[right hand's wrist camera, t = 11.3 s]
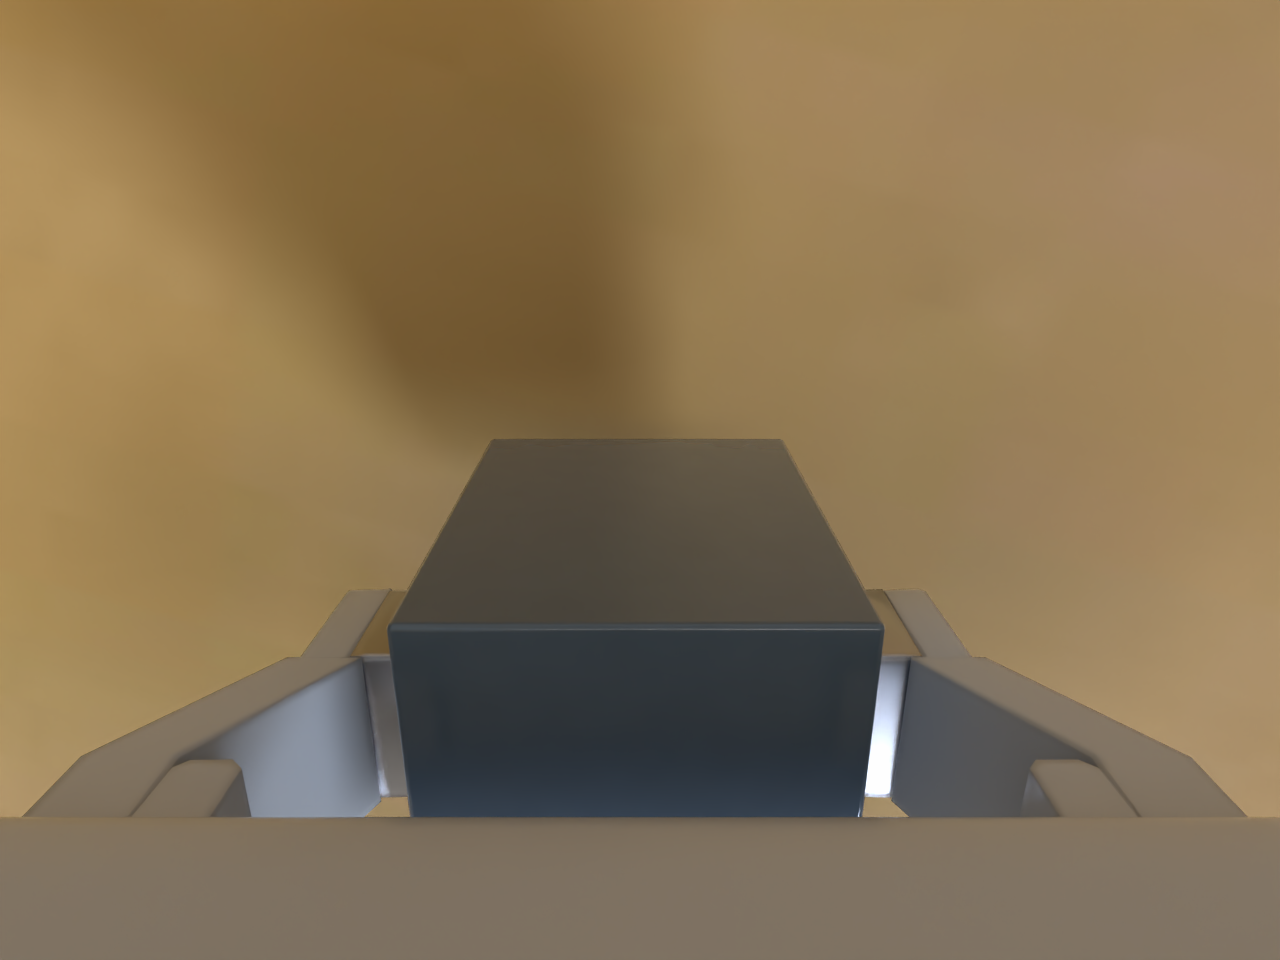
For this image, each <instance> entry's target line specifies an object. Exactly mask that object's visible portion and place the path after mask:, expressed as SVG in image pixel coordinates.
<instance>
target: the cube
mask: <svg viewBox="0 0 1280 960" xmlns="http://www.w3.org/2000/svg"><path fill="white" fill-rule="evenodd" d="M386 629H387V637H388V645H389V653H390V661H391V669H392V677H393V685H394V693H395V701H396V709H397V717H398V725H399V733H400V741H401V749H402V757H403V765H404V773H405V781H406V789H407V797H408V805H409V813H410V817H862V816H863V808H864V800H865V791H866V783H867V775H868V767H869V758H870V750H871V742H872V734H873V725H874V717H875V709H876V701H877V692H878V684H879V676H880V668H881V659H882V651H883V643H884V635H885V626H884V623H883V621H882V619H881V618H880V616H879V614H878V612H877V610H876V608H875V607H874V605H873V603H872V601H871V599H870V598H869V596H868V594H867V592H866V590H865V589H864V587H863V585H862V583H861V581H860V579H859V578H858V576H857V574H856V572H855V570H854V569H853V567H852V565H851V563H850V561H849V559H848V558H847V556H846V554H845V552H844V550H843V549H842V547H841V545H840V543H839V541H838V540H837V538H836V536H835V534H834V532H833V530H832V529H831V527H830V525H829V523H828V521H827V520H826V518H825V516H824V514H823V512H822V510H821V509H820V507H819V505H818V503H817V501H816V500H815V498H814V496H813V494H812V492H811V491H810V489H809V487H808V485H807V483H806V481H805V480H804V478H803V476H802V474H801V472H800V471H799V469H798V467H797V465H796V463H795V461H794V460H793V458H792V456H791V454H790V452H789V451H788V449H787V447H786V445H785V443H784V442H783V440H780V439H494V440H492V441H490V443H489V445H488V447H487V449H486V450H485V452H484V454H483V456H482V457H481V459H480V461H479V463H478V465H477V466H476V468H475V470H474V472H473V473H472V475H471V477H470V479H469V481H468V482H467V484H466V486H465V488H464V489H463V491H462V493H461V495H460V497H459V498H458V500H457V502H456V504H455V506H454V507H453V509H452V511H451V513H450V514H449V516H448V518H447V520H446V522H445V523H444V525H443V527H442V529H441V530H440V532H439V534H438V536H437V538H436V539H435V541H434V543H433V545H432V546H431V548H430V550H429V552H428V554H427V555H426V557H425V559H424V561H423V562H422V564H421V566H420V568H419V570H418V571H417V573H416V575H415V577H414V578H413V580H412V582H411V584H410V586H409V587H408V589H407V591H406V593H405V594H404V596H403V598H402V600H401V602H400V603H399V605H398V607H397V609H396V611H395V612H394V614H393V616H392V618H391V619H390V621H389V623H388V626H387V628H386Z"/></svg>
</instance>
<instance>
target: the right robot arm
mask: <svg viewBox="0 0 1280 960" xmlns="http://www.w3.org/2000/svg"><path fill="white" fill-rule="evenodd" d="M406 591H407V590H392V589H367V590H350V591H348V592H347V593H346V594H345V596H344V597H343V598H342V600H341V601H340V603H339V604H338V605H337V607H336V608H335V610H334V611H333V612H332V614H331V615H330V617H329V618H328V619H327V621H326V622H325V623H324V625H323V626H322V628H321V629H320V630H319V632H318V633H317V635H316V636H315V637H314V639H313V640H312V642H311V643H310V644H309V646H308V647H307V649H306V650H305V651H304V653H303V654H302V656H301V657H287V658H285V659H283V660H281V661H279V662H277V663H274V664H272V665H270V666H268V667H266V668H264V669H262V670H260V671H258V672H256V673H254V674H252V675H249V676H247V677H245V678H243V679H241V680H239V681H237V682H235V683H233V684H231V685H229V686H227V687H224V688H222V689H220V690H218V691H216V692H214V693H212V694H210V695H208V696H206V697H204V698H202V699H199V700H197V701H195V702H193V703H191V704H189V705H187V706H185V707H183V708H181V709H179V710H176V711H174V712H172V713H170V714H168V715H166V716H164V717H162V718H160V719H158V720H156V721H154V722H151V723H149V724H147V725H145V726H143V727H141V728H139V729H137V730H135V731H133V732H131V733H129V734H126V735H124V736H122V737H120V738H118V739H116V740H114V741H112V742H110V743H108V744H106V745H104V746H101V747H99V748H97V749H95V750H93V751H91V752H89V753H87V754H85V755H83V756H81V757H80V758H79V759H78V760H77V761H76V762H75V763H74V764H73V765H72V766H71V767H70V768H69V769H68V770H67V771H66V772H65V773H64V774H63V775H62V776H61V777H60V778H59V779H58V780H57V781H56V782H55V784H54V785H53V786H52V787H51V788H50V789H49V790H48V791H47V792H46V793H45V794H44V795H43V796H42V797H41V798H40V799H39V800H38V801H37V802H36V803H35V804H34V805H33V806H32V807H31V808H30V809H29V810H28V811H27V812H26V813H25V814H24V815H23V816H22V817H0V960H1280V817H1247V816H1246V815H1245V814H1244V812H1243V811H1242V810H1241V809H1240V808H1239V807H1238V806H1237V805H1236V804H1235V803H1234V802H1233V801H1232V800H1231V799H1230V798H1229V797H1228V796H1227V795H1226V794H1225V793H1224V791H1223V790H1222V789H1221V788H1220V787H1219V786H1218V785H1217V784H1216V783H1215V782H1214V781H1213V780H1212V779H1211V778H1210V777H1209V776H1208V775H1207V774H1206V773H1205V771H1204V770H1203V769H1202V768H1201V767H1200V766H1199V765H1198V764H1197V763H1196V762H1195V761H1194V760H1193V759H1192V758H1191V757H1189V756H1187V755H1185V754H1183V753H1181V752H1179V751H1177V750H1175V749H1173V748H1171V747H1169V746H1167V745H1165V744H1162V743H1160V742H1158V741H1156V740H1154V739H1152V738H1150V737H1148V736H1146V735H1144V734H1142V733H1140V732H1138V731H1136V730H1134V729H1132V728H1130V727H1127V726H1125V725H1123V724H1121V723H1119V722H1117V721H1115V720H1113V719H1111V718H1109V717H1107V716H1105V715H1103V714H1101V713H1099V712H1097V711H1095V710H1092V709H1090V708H1088V707H1086V706H1084V705H1082V704H1080V703H1078V702H1076V701H1074V700H1072V699H1070V698H1068V697H1066V696H1064V695H1062V694H1060V693H1057V692H1055V691H1053V690H1051V689H1049V688H1047V687H1045V686H1043V685H1041V684H1039V683H1037V682H1035V681H1033V680H1031V679H1029V678H1027V677H1025V676H1022V675H1020V674H1018V673H1016V672H1014V671H1012V670H1010V669H1008V668H1006V667H1004V666H1002V665H1000V664H998V663H996V662H994V661H992V660H990V659H987V658H985V657H972V656H971V655H970V654H969V652H968V651H967V649H966V648H965V646H964V645H963V644H962V642H961V641H960V639H959V638H958V637H957V635H956V634H955V632H954V631H953V630H952V628H951V627H950V625H949V624H948V623H947V621H946V620H945V618H944V617H943V615H942V614H941V613H940V611H939V610H938V608H937V607H936V606H935V604H934V603H933V601H932V600H931V599H930V597H929V596H928V594H927V593H926V592H925V591H923V590H921V589H901V590H882V589H878V590H866V592H867V594H868V596H869V598H870V599H871V601H872V603H873V605H874V607H875V608H876V610H877V612H878V614H879V616H880V618H881V619H882V621H883V623H884V626H885V635H884V643H883V651H882V659H881V668H880V676H879V684H878V692H877V701H876V709H875V717H874V725H873V734H872V742H871V750H870V758H869V767H868V775H867V783H866V791H865V797H892V801H893V802H894V803H895V804H896V805H897V806H898V807H899V808H900V809H901V810H902V811H904V812H905V813H906V814H907V815H908V816H909V817H364V816H365V815H366V814H368V813H369V812H370V811H371V810H372V809H373V808H374V807H375V806H376V805H378V804H379V803H380V802H381V797H407V789H406V781H405V773H404V765H403V757H402V749H401V741H400V733H399V725H398V717H397V709H396V701H395V693H394V685H393V677H392V669H391V661H390V653H389V645H388V637H387V629H386V628H387V626H388V623H389V621H390V619H391V618H392V616H393V614H394V612H395V611H396V609H397V607H398V605H399V603H400V602H401V600H402V598H403V596H404V594H405V593H406Z"/></svg>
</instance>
